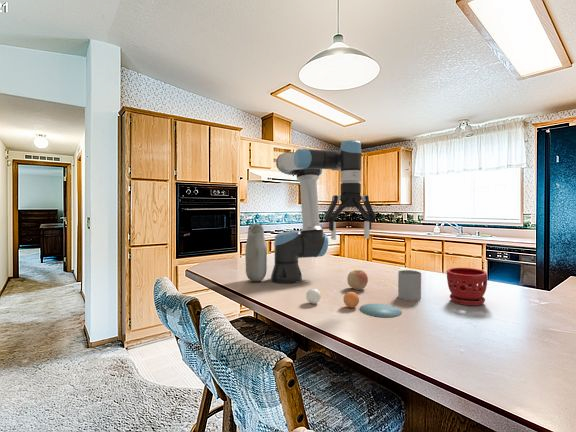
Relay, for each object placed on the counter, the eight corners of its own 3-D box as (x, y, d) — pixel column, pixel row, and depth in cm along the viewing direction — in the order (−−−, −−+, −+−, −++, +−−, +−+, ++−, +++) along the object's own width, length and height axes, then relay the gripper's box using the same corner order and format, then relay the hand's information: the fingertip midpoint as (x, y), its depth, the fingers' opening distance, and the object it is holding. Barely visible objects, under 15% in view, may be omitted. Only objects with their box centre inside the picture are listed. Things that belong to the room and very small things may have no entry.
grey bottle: (243, 280, 156) (242, 223, 155) (262, 278, 160) (262, 222, 159) (249, 284, 147) (248, 224, 146) (269, 282, 151) (269, 223, 150)
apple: (366, 286, 142) (366, 269, 142) (369, 292, 133) (369, 273, 133) (346, 286, 143) (346, 268, 143) (348, 291, 134) (348, 272, 134)
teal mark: (351, 308, 112) (351, 307, 112) (379, 301, 119) (379, 301, 119) (380, 320, 100) (380, 319, 100) (410, 312, 107) (410, 312, 107)
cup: (422, 301, 120) (423, 275, 120) (400, 300, 122) (400, 274, 122) (418, 295, 129) (418, 270, 128) (397, 294, 130) (397, 269, 130)
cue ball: (303, 302, 119) (303, 288, 119) (315, 300, 122) (315, 286, 122) (311, 306, 114) (311, 291, 114) (323, 304, 117) (323, 289, 117)
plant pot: (450, 295, 128) (451, 265, 128) (489, 301, 120) (489, 269, 119) (442, 303, 118) (443, 271, 117) (483, 310, 109) (484, 275, 109)
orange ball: (340, 306, 114) (340, 291, 114) (351, 304, 117) (351, 289, 117) (350, 310, 110) (350, 295, 109) (362, 308, 112) (362, 292, 112)
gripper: (322, 181, 113) (322, 240, 113) (385, 182, 118) (385, 239, 119) (315, 182, 120) (315, 238, 121) (375, 183, 126) (375, 236, 127)
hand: (350, 238), depth 120 cm, fingers open, 13 cm apart
